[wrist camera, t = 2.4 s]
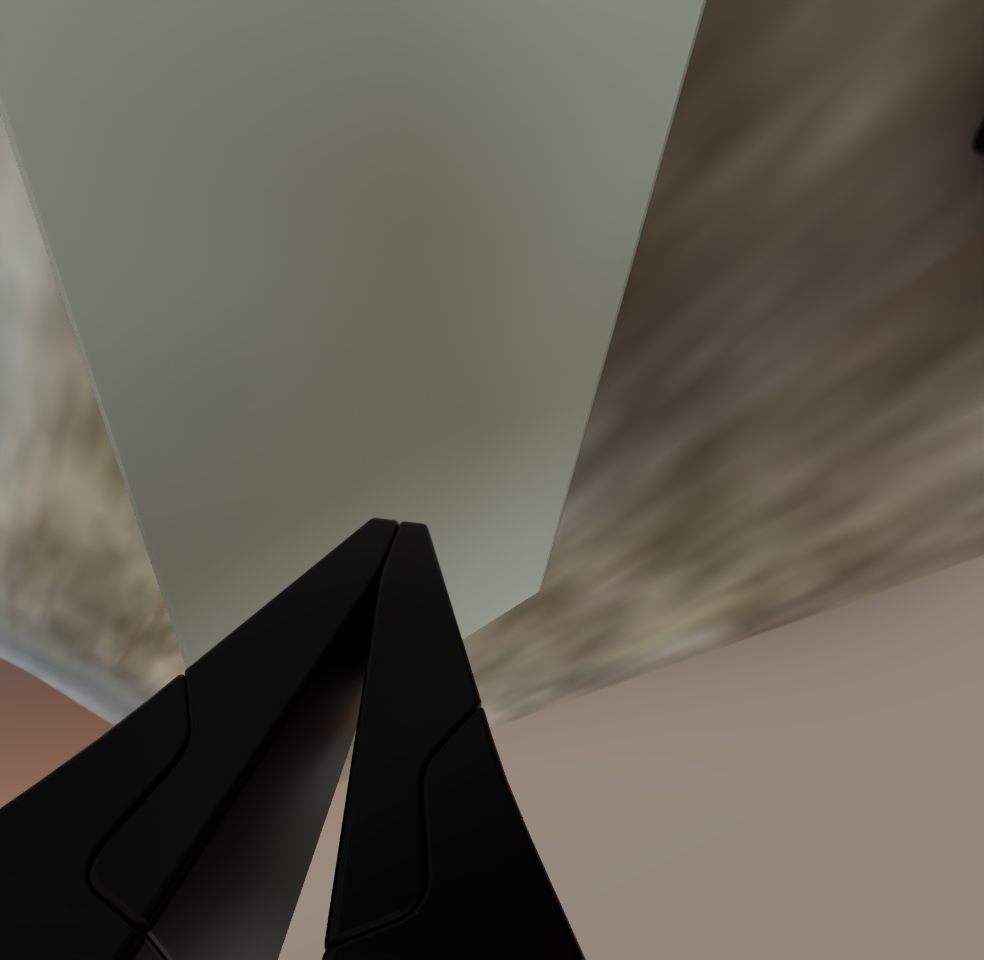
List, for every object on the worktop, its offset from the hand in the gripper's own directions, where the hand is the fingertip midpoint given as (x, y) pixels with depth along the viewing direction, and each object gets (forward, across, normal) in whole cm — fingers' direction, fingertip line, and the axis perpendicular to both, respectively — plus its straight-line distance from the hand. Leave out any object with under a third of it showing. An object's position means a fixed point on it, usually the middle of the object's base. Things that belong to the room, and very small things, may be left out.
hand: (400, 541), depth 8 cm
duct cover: (+5, 0, 0) cm, 5 cm away
